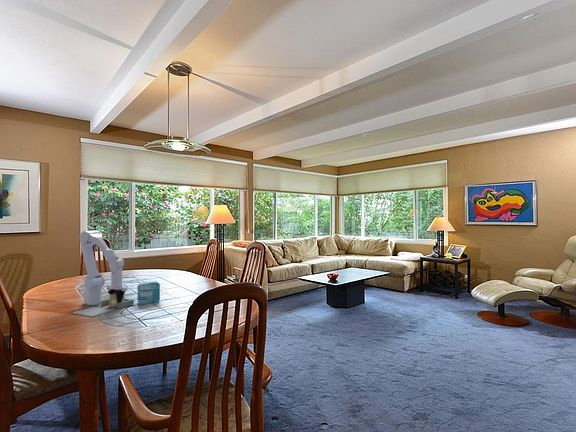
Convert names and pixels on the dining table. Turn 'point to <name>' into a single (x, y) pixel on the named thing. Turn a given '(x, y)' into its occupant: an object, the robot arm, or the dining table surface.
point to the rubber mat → (92, 311)
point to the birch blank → (114, 300)
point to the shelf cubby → (120, 305)
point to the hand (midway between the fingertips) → (116, 302)
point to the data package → (148, 292)
